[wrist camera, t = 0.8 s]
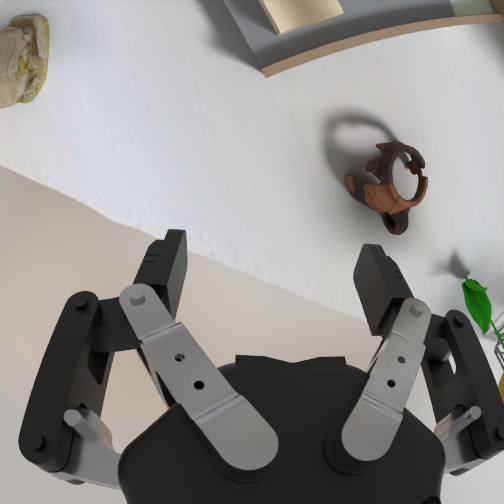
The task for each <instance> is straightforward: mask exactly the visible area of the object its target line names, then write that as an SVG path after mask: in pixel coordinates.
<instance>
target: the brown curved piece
mask: <svg viewBox="0 0 504 504" xmlns="http://www.w3.org/2000/svg"><path fill="white" fill-rule="evenodd" d="M376 147H377V148H379V149H380V151H381V152H382V154H383V155H384V156H379V157H376V158H375V159H373V160H372V161H369V162H368V163H367V165H366V167H365V170H366V171H367V172H372V173H373V175H374V176H376V177H377V178H378V179H379V180H380V181H381V182H382V183H380V184H370V183H368V184H366V185H365V186H364V187H363V190H364V191H358V190H357V187H356V184H355V178H354V176H353V175H345V183H346V186H347V189H348V191H349V193H350V194H351V196H352V197H353V198H354V199H356V200H357V201H359V202H361V203H363V204H364V205H366V206H367V207H369V208H371V209H372V210H374V211H377V212H379V213H380V215H381V217H382V220H383V223H384V225H385V227H386V228H387V230H388V231H389V232H390V233H392V234H395V235H401V234H402V233H404V232H405V231H406V229H407V227H408V212H409V210H410V207H414V206H416V205H418V204H419V203H420V202H421V200H422V199H423V197H424V196H425V193H426V190H427V186H428V177H426V176H422V170H421V168H422V169H424V168H425V161H424V159H423V157H422V156H421V154H420V153H419V152H418V151H417V150H416V149H415V148H413V147H410V146H408V145H405V144H403V143H401V142H396V141H392V142H389V143H381V144H376ZM402 152H407V153H408V154H410V156H411V159H412V160H411V161H410V162H409V163H408V167H409V169H410V171H411V173H412V174H414V175H415V174H418V187H417V191H416V194H415V196H414V197H413V198H412V199H411V200H405V199H403V198H402V197H401V196H400V195H399V194H398V192H397V191H396V189H395V186H394V184H393V178H392V169H393V164H394V161H395V159H396V157H397V156H398V155H399V154H400V153H402Z"/></svg>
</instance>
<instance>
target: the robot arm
mask: <svg viewBox="0 0 504 504" xmlns="http://www.w3.org/2000/svg"><path fill="white" fill-rule="evenodd" d="M186 271H187V240H186V230H178V229H168V231H167V234H166V236H165V239H164V240H155V241H154V242H153V243H152V244H151V245H150V246H149V247H148V250H147V252H146V254H145V256H144V258H143V262H142V263H141V266H140V268H139V270H138V273H137V275H136V278H135V280H134V282H133V285H131V286H128V287H126V288H125V289H124V290H123V291H122V292H121V294H120V296H119V297H116V298H112V299H105V300H98V297H97V296H96V295H95V294H94V293H92V292H89V291H82V292H78V293H76V294H74V295H72V296H71V297H70V298H69V299H68V300H67V302H66V304H65V306H64V309H63V311H62V313H61V316H60V317H59V320H58V322H57V324H56V327H55V329H54V331H53V334H52V336H51V339H50V341H49V344H48V346H47V349H46V352H45V354H44V357H43V359H42V362H41V365H40V368H39V371H38V374H37V376H36V379H35V382H34V385H33V389H32V391H31V395H30V398H29V401H28V405H27V408H26V411H25V415H24V418H23V422H22V426H21V430H20V434H19V439H18V440H19V441H18V443H19V448H20V451H21V453H22V455H23V456H24V457H25V458H26V459H27V460H28V461H30V462H32V463H33V464H35V465H37V466H38V467H40V468H41V469H42V470H44V471H45V472H47V473H49V474H51V475H53V476H55V477H57V478H59V479H61V480H65V481H67V482H69V483H72V484H76V485H79V484H83V483H85V482H88V483H92V484H96V485H100V486H105V487H109V488H114V489H119V490H122V491H123V494H124V496H125V498H126V501H127V504H441V501H440V490H441V483H442V477H443V474H445V473H450V474H452V475H454V476H458V475H461V474H463V473H465V472H467V471H469V470H471V469H472V468H474V467H476V466H478V465H480V464H482V463H484V462H485V461H487V460H489V459H490V458H492V457H494V456H495V455H497V454H499V453H500V452H502V451H503V450H504V403H503V400H502V397H501V394H500V392H499V389H498V386H497V383H496V381H495V378H494V376H493V373H492V370H491V368H490V365H489V363H488V360H487V358H486V356H485V353H484V351H483V349H482V346H481V344H480V342H479V340H478V337H477V335H476V333H475V331H474V329H473V327H472V325H471V323H470V321H469V319H468V317H467V316H466V315H465V314H463V313H462V312H460V311H458V310H450V311H448V312H447V314H446V315H445V317H442V316H438V315H435V314H431V311H430V309H429V307H428V306H427V305H426V304H425V303H424V302H423V301H421V300H419V299H416V298H414V296H413V294H412V292H411V290H410V288H409V287H408V285H407V283H406V281H405V279H404V277H403V275H402V273H401V272H400V269H399V267H398V265H397V264H396V263H395V262H394V261H393V260H392V259H391V258H390V257H389V256H386V254H385V252H384V250H383V249H382V247H381V246H380V245H375V244H364V245H363V247H362V249H361V252H360V255H359V258H358V261H357V264H356V266H355V269H354V275H353V279H354V284H355V287H356V289H357V292H358V295H359V298H360V301H361V304H362V307H363V310H364V313H365V316H366V319H367V322H368V325H369V328H370V331H371V334H372V336H382V341H381V342H380V344H379V346H378V348H377V350H376V352H375V354H374V356H373V358H372V359H371V362H370V363H369V365H368V367H367V369H366V371H365V372H364V371H362V370H361V369H359V368H356V367H354V366H351V365H347V364H346V360H345V357H344V356H343V357H317V358H313V359H309V360H304V361H300V362H296V363H290V362H285V361H282V360H277V359H273V358H269V357H265V356H248V355H236V358H235V363H231V364H227V365H224V366H221V367H219V368H216V367H215V365H214V364H213V363H212V362H211V360H209V358H208V356H207V355H206V354H205V352H204V351H203V350H202V349H201V347H200V346H199V345H198V343H197V342H196V341H195V339H194V338H193V337H192V335H191V334H190V333H189V331H188V330H187V328H186V327H185V326H184V325H183V324H182V323H181V322H179V323H176V322H175V318H176V313H177V309H178V304H179V300H180V296H181V292H182V288H183V283H184V279H185V275H186ZM131 349H135V350H136V352H137V354H138V356H139V358H140V360H141V361H142V363H143V365H144V367H145V368H146V370H147V372H148V374H149V375H150V377H151V379H152V381H153V382H154V384H155V386H156V388H157V390H158V393H159V394H160V396H161V398H162V400H163V401H164V403H165V404H166V406H167V408H168V410H167V411H166V412H165V413H164V414H163V415H162V416H161V417H159V419H157V420H156V421H155V422H154V423H153V424H152V425H150V426H149V427H148V428H147V429H146V430H145V431H144V432H142V433H141V434H140V435H139V436H138V437H137V438H136V439H134V440H133V441H132V442H131V443H130V444H129V445H128V446H127V447H126V448H125V450H124V451H123V453H122V454H119V453H116V452H115V451H114V449H113V446H112V435H111V432H110V430H109V429H108V427H107V426H106V425H105V424H104V423H103V421H101V419H100V417H101V411H102V406H103V401H104V397H105V392H106V387H107V383H108V378H109V374H110V370H111V366H112V361H113V357H114V353H115V352H117V351H124V350H131ZM451 354H452V356H453V358H454V361H455V364H456V372H455V374H454V373H453V370H452V368H451V365H450V362H449V359H448V358H449V356H450V355H451ZM420 364H421V367H422V370H423V374H424V377H425V381H426V384H427V388H428V391H429V395H430V399H431V403H432V407H433V411H434V415H435V419H436V424H437V425H436V426H435V430H434V433H433V432H432V431H431V430H430V429H428V428H427V427H426V426H425V425H424V424H423V423H422V422H421V421H420V420H418V419H417V418H416V417H415V416H414V415H413V414H412V413H411V412H409V410H407V409H406V408H405V404H406V402H407V399H408V397H409V394H410V392H411V389H412V387H413V384H414V381H415V378H416V375H417V373H418V370H419V367H420Z"/></svg>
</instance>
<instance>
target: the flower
mask: <svg viewBox="0 0 504 504" xmlns="http://www.w3.org/2000/svg"><path fill="white" fill-rule="evenodd" d="M465 279H466V281H465V282H464V283H463V284H462V287H463V290H464V296H465V302H466V306H467V308H468V311H469V313H470V314H471V316H472V318H473V319H474V320H475V322H476V323H477V324H478V325H479V327H480V328H481V330H482V331H483V334H485V333H486V332H487V331H488V329H489V324H490V322H491V324H492V326H493V328H494V330H495V332H496V334H497V336H498V338H499V340H500V342H501V344H502V347H503V349H504V343H503V341H502V339H501V337H500V335H499V333H498V331H497V329H496V328H495V326H494V324H493V322H492V320H491V314H492V309H491V303H490V301H489V299H488V297H487V295H486V293H485V291H486V290H487V288H486V287H485V288H484V287H482V286H481V285H480V284H479V283H478V282H477V281H475V280H472V279H467V277H465ZM498 389H499V392H500V394H501V397H502V400H503V403H504V373H503V374H502V377H501V379H500V382H499V384H498Z"/></svg>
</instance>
